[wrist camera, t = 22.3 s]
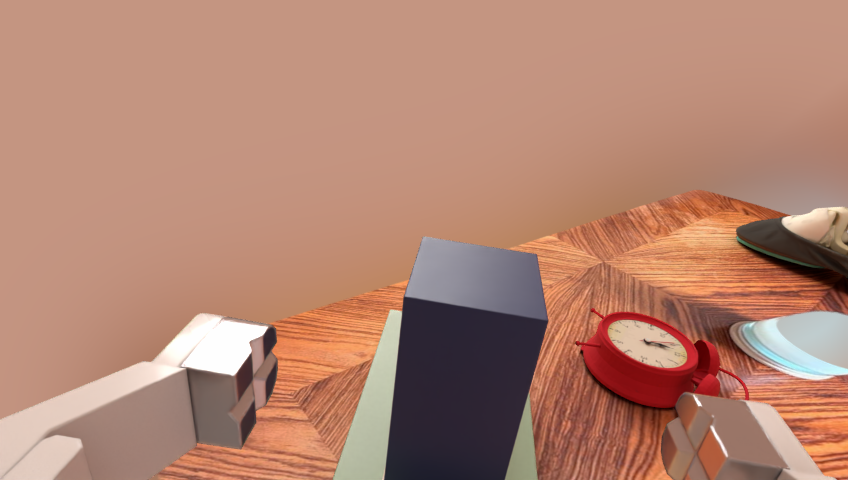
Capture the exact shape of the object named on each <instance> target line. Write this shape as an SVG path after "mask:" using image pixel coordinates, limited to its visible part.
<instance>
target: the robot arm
mask: <svg viewBox="0 0 848 480" xmlns="http://www.w3.org/2000/svg"><path fill="white" fill-rule="evenodd" d="M276 343H277V337H276V328H275V327H274V326H273V325H270V324H264V323H258V322H253V321H248V320H243V319H237V318H232V317H224V316H219V315H213V314H207V313H201V314H198V315H196V316H195V317H194V318H193V320H191V321H190V322H189V323H188V325H187V326H186V327H185V328H184V329H183V330H182V331H181V332H180V333H179V334H178V335H177V336H176V337H175V338H174V339H173V340H172V341H171V342H170V343H169V344H168V345H167V346H166V347H165V348H164V349H163V350H162V351H161V353H160V354H159V355H158V356H157V357H156V358H155V359H154V360H153V361H152V362H145V361H143V362H140V363H138V364H135V365H133V366H131V367H128V368H126V369H123V370H121V371H118V372H116V373H113V374H111V375H108V376H106V377H103V378H101V379H99V380H96V381H94V382H91V383H89V384H86V385H84V386H81V387H79V388H76V389H74V390H72V391H69V392H67V393H64V394H62V395H59V396H57V397H54V398H52V399H49V400H47V401H45V402H42V403H40V404H37V405H35V406H32V407H30V408H27V409H25V410H22V411H20V412H17V413H15V414H13V415H10V416H8V417H5V418H3V419H0V480H149V479H150V478H152V477H153V476H155V475H156V474H157V473H159V472H160V471H162V470H163V469H165V468H166V467H167V466H169V465H170V464H172V463H173V462H174V461H176V460H177V459H179V458H180V457H182V456H183V455H184V454H186V453H187V452H189V451H190V450H191V449H193V448H194V447H196V446H197V443H200V444H207V445H214V446H221V447H227V448H234V449H241V448H242V447H243V445H244V443H245V441H246V440H247V438H248V436H249V434H250V433H251V431H252V429H253V427H254V425H255V424H256V411H257V410H258V409H260V408H262V407H264V406H265V405H266V404H267V402H268V400H269V398H270V397H271V395H272V392H273V389H274V386H275V382H276V378H277V370H278V360H277V358H276V357H275V355H274V354H273V353H272V349H273V347H274V346H275V344H276ZM675 409H676V411H677V413H678V416H679V417H677V418H676V419H674V420H672V421H671V422H669V423H667V425H666V427H665V430H664V432H663V435H662V443H661V454H662V460H663V464H664V466H665V469H666V472H667V474H668V475H669V476H670V477H671V478H672V479H673V480H836V479H835V478H834V477H828V476H824V475H823V473H822V472H821V471H820V469H819V468H818V467H817V465H816V464H815V462H814V461H813V460H812V458H811V457H810V456H809V454H808V453H807V452H806V450H805V449H804V447H803V446H802V445H801V443H800V442H799V441H798V439H797V438H796V437H795V435H794V434H793V432H792V431H791V430H790V428H789V427H788V426H787V424H786V423H785V422H784V420H783V419H782V417H781V416H780V415H779V413H778V412H777V411H776V409H775V408H773V407H772V406H770V405H769V404H767V403H761V402H754V401H747V400H735V399H728V398H722V397H715V396H709V395H703V394H696V393H690V392H684V393H683V394H682V395H681V396H680V397H679V398H678V401H677V403H676V405H675Z"/></svg>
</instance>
